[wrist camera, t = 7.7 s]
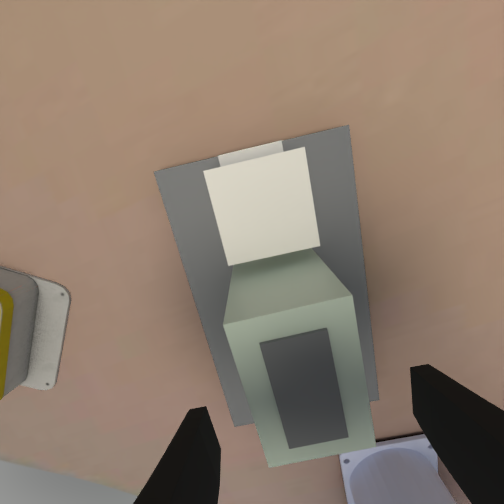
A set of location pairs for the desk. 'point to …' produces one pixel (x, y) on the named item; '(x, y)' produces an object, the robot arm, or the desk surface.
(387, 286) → the desk surface
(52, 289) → the emergency button
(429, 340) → the desk surface
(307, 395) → the block
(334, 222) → the rail board
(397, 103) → the desk surface
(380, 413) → the desk surface
